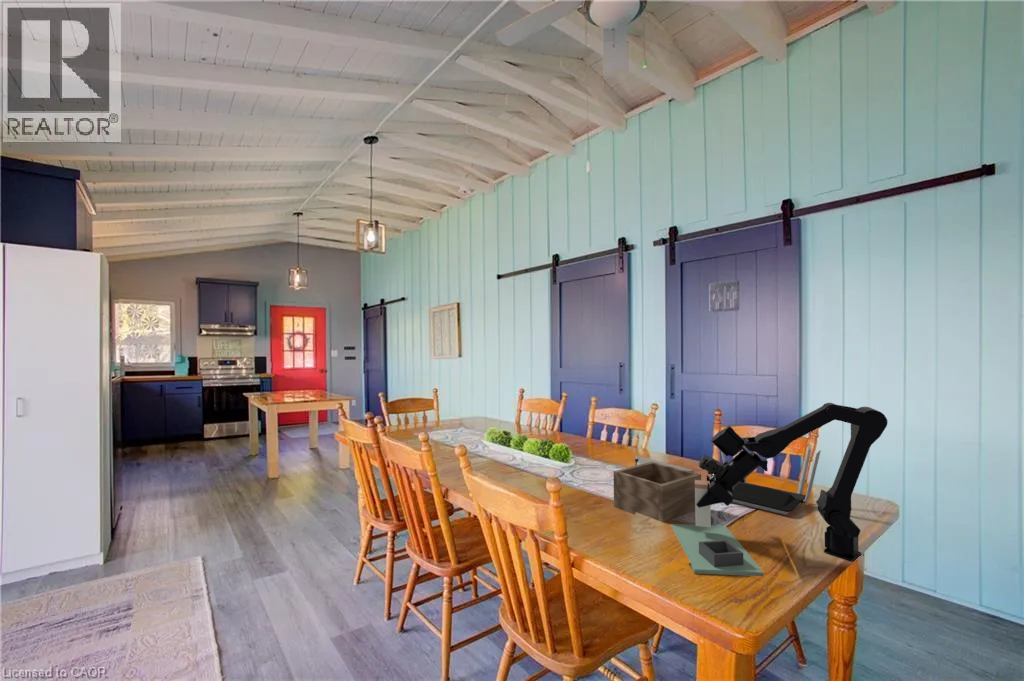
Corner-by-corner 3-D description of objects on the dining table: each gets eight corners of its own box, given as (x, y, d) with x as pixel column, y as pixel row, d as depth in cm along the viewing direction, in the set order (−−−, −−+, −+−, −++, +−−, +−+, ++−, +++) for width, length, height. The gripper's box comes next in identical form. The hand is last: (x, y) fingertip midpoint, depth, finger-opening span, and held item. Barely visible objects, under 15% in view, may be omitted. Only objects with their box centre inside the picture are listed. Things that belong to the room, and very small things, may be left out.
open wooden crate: (701, 510, 157) (701, 474, 157) (662, 525, 146) (662, 486, 146) (652, 494, 174) (652, 461, 174) (613, 506, 162) (613, 471, 162)
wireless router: (701, 496, 171) (701, 440, 171) (729, 482, 186) (729, 431, 186) (808, 522, 146) (807, 457, 146) (830, 504, 161) (829, 445, 161)
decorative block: (639, 471, 204) (639, 453, 204) (701, 489, 179) (701, 469, 179) (627, 474, 200) (626, 456, 200) (688, 493, 174) (688, 473, 174)
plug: (710, 522, 138) (709, 481, 138) (710, 527, 135) (710, 485, 135) (695, 520, 140) (694, 479, 140) (695, 525, 136) (694, 483, 136)
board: (670, 527, 144) (669, 523, 144) (725, 528, 142) (725, 525, 142) (694, 573, 116) (694, 569, 116) (763, 576, 115) (763, 572, 115)
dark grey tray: (726, 551, 126) (726, 539, 126) (743, 564, 118) (743, 552, 118) (698, 553, 125) (698, 541, 125) (714, 567, 117) (714, 555, 117)
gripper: (714, 439, 144) (676, 473, 148) (718, 454, 127) (675, 492, 131) (744, 467, 142) (704, 501, 146) (751, 486, 124) (706, 524, 128)
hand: (697, 503), depth 138 cm, fingers closed on plug, 4 cm apart
